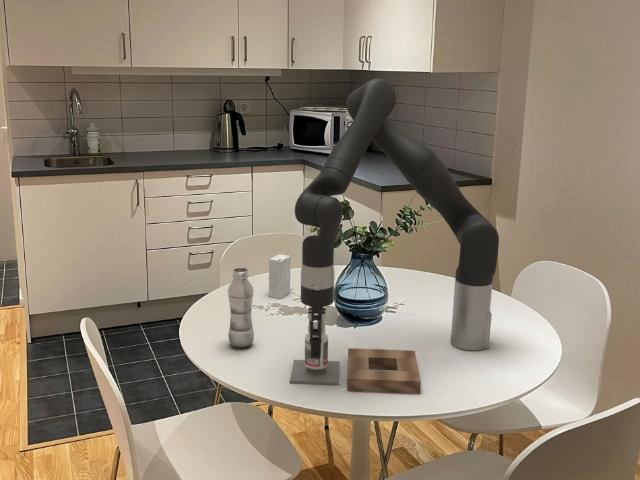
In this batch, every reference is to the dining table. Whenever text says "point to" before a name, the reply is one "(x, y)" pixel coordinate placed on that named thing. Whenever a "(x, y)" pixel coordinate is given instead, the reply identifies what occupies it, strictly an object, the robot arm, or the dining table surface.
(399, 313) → the dining table surface
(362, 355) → the walnut dock
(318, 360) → the pill bottle
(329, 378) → the charcoal mat
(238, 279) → the plastic bottle
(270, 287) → the skincare box
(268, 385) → the dining table surface
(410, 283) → the dining table surface
